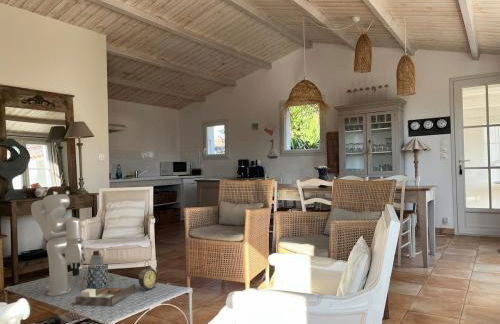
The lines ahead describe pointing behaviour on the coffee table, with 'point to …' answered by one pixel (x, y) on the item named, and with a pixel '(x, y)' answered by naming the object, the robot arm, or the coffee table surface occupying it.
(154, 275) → the alarm clock
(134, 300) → the coffee table surface
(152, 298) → the coffee table surface
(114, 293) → the box
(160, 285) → the coffee table surface
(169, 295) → the coffee table surface
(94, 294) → the block
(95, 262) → the perfume bottle
